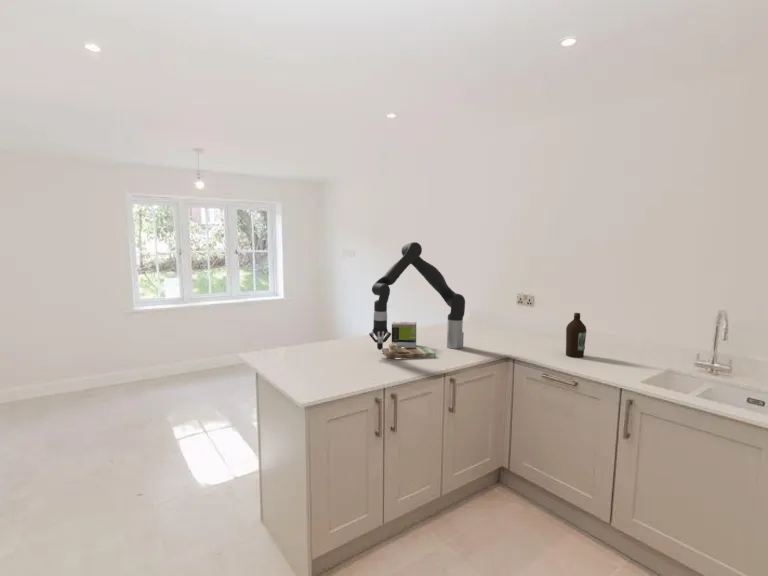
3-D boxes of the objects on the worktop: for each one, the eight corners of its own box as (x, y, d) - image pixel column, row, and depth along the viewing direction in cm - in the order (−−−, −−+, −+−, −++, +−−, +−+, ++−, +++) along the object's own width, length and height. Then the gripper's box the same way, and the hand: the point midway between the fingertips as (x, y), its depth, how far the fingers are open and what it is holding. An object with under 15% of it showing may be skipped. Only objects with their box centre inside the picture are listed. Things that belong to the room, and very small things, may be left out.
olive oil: (560, 354, 246) (563, 312, 243) (571, 352, 252) (574, 311, 249) (577, 359, 237) (580, 315, 234) (588, 356, 243) (591, 313, 240)
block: (395, 350, 241) (395, 343, 240) (397, 352, 237) (397, 345, 237) (388, 350, 240) (388, 343, 240) (390, 352, 236) (390, 345, 236)
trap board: (426, 350, 251) (426, 346, 251) (435, 357, 237) (435, 352, 237) (382, 352, 245) (382, 348, 245) (388, 359, 230) (388, 355, 230)
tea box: (416, 344, 266) (416, 321, 264) (415, 348, 256) (416, 324, 254) (392, 343, 267) (392, 320, 266) (391, 347, 257) (391, 323, 256)
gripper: (390, 317, 240) (389, 347, 242) (367, 318, 237) (366, 348, 239) (393, 319, 233) (392, 350, 235) (370, 320, 230) (369, 351, 231)
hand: (379, 349), depth 237 cm, fingers closed
